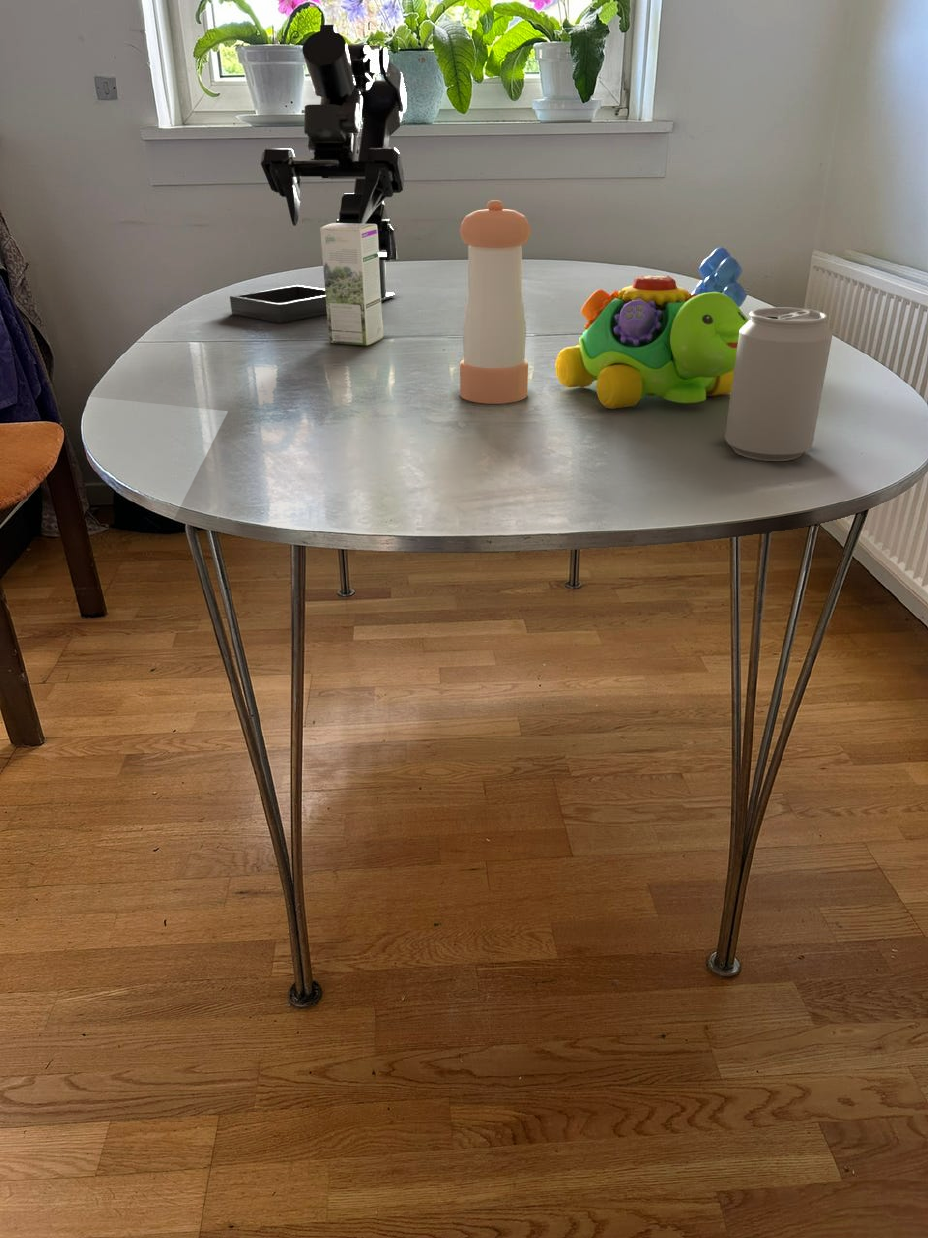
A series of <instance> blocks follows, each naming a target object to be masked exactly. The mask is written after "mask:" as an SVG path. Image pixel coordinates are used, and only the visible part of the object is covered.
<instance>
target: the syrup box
mask: <svg viewBox="0 0 928 1238" xmlns="http://www.w3.org/2000/svg"><path fill="white" fill-rule="evenodd" d="M319 234H320V247H321V256H322V269H323V282H324V283H323V284H324V289H325V296H326V308H327V314H326V319H327V329H328V342H329V344H339V345H352V346H370V345H373V344H374V343H376V342H378V341H380V340H381V339H383V338H384V326H383V325H384V324H383V312H382V301H381V293H380V270H379V253H380V251H379V247H378V230H377V225H376V224H354V223H336V222H332V223H328V224H326V225H323V226H321V227H319Z"/></svg>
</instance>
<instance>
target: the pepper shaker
mask: <svg viewBox="0 0 928 1238" xmlns="http://www.w3.org/2000/svg"><path fill="white" fill-rule="evenodd" d="M504 206H505V205H504V202H503V201H502V200H499V199H491V200H490V201H488V203H487V209H477V210H474V211H472V212H471V213H468V214H467V215H466V216H465V217H464V219H463V220H462V222H461V225H460V230H459V233H460V236H461V240H462V243H463V244H465V245H468V248H467V250H468V251H467V253H468V254H467V260H468V262H467V296H466V302H465V303H466V305H465V310H464V318H463V324H462V345H463V346H462V348H463V359H461V361H460V363H459V373H460V374H459V384H460V385H459V386H460V387H459V390H460V392H459V396H460V397H461V399H464V400H466V401H468V402H473V403H478V404H488V405H489V404H491V405H492V404H494V405H495V404H497V405H498V404H499V405H500V404H501V405H502V404H510V403H516V402H520V401H522V400H524V399H526V398H527V397H528V389H529V388H528V385H529V383H528V382H529V363H528V360H527V359H525V356H526V340H527V339H526V338H527V326H526V325H527V324H526V319H525V318H526V317H525V309H524V302H523V300H524V299H523V293H522V286H523V285H522V282H523V279H522V278H523V276H522V274H523V248H522V245H525V244H526V243H528V240H529V239H530V236H531V232H532V231H531V226H530V223H529V221H528V219H527V217H526V216H525V214H522V213H521V212H519V211H517V210H515V209H504Z"/></svg>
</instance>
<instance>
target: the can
mask: <svg viewBox="0 0 928 1238" xmlns="http://www.w3.org/2000/svg"><path fill="white" fill-rule="evenodd" d="M748 315H749V316H750V319H749V321H748V322H747V323H746V324H745V325H744V326H743V327H742V328H741V329H740V331H739V338H738V345H737V353H736V360H735V368H734V375H733V382H732V390H731V393H730V397H729V398H730V399H729V404H728V413H727V421H726V427H725V435H724V439H725V441H726V443H727V444H728V445H729V446H730V447H731V448H732V450H733V452H735V453H736V454H737V455H739V456H742V457H745V458H748V459H752V460H756V461H763V462H788V461H793V460H796V459H798V458H800V457H801V456H802V454H804V453H805V452H807V451H809V450H810V449H812V447H813V444H814V437H815V433H816V427H817V421H818V417H819V411H820V406H821V399H822V395H823V389H824V383H825V378H826V372H827V369H828V368H827V367H828V362H829V356H830V351H831V346H832V340H833V333H832V331H831V330H830V328H829V327H828V326H827V324H826V321H827V320H828V318H829V316H828V315H827V314H826V313H824V312H823V311H819V310H814V309H809V308H800V307H787V306H784V307H783V306H771V307H760V308H755V309H753V310H751V311H750V312H749V314H748Z"/></svg>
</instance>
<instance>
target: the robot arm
mask: <svg viewBox="0 0 928 1238" xmlns="http://www.w3.org/2000/svg"><path fill="white" fill-rule="evenodd" d="M301 48H302V50H301V51H302V55H303V58H304V61H305V65H306V69H307V71H308V74H309V79H310V81H311V85H312V88H313V91H314V94H315V96H317V97H320V102H319V103H320V104H307V105H305V106H304V122H303V124H304V126H303V128H304V129H303V133H304V134H305V135H306V136H307V138H308V142H307V143H308V144H307V148H308V152H309V153H310V154H313V158H296V156H295V153H294V150H293V149H292V148H287V147H285V148H264V150H263V152H262V153H261V157H260V166H261V168H262V171H263V173H264V175H265V178H266V180H267V183H268V185H269V188H270V191H272V192H274V193H278V194H279V197H282V198H285V199H286V205H287V208H288V212H289V217H290V222H291V224H292V226H293V227H296V226H297V225H298V221H299V216H300V207H301V200H302V199H301V198H302V193H301V191H300V189H301V184H302V178H303V177H304V178H306V177H307V178H309V177H310V178H311V177H312V178H315V177H316V178H317V177H318V178H321V179H330V180H355V181H354V189H353V193H344V194H343V195H342V197H341V203H340V210H339V212H338V215H339V216H338V219H336V220H335V223H354V224H376V225H377V230H378V247H379V270H380V293H381V302H383V301H386V300H388V299H391V298H393V297H395V295H396V294H395V293H394V292H387V291H388V289H387V272H386V271H387V269H386V268H387V267H386V262H391V261H395V260H398V248H397V247H398V246H397V240H396V235H395V234H396V233H395V230H394V228H393V226H392V224H391V223H392V222H391V220H390V219H389V218H388V214H387V209H386V204H385V202H384V201H385V200H386V199H387V198H392V197H393V196H394V194H400V193H401V192H403V191H404V184H405V173H404V172H405V171H404V168H403V163H402V158H401V154H400V152H399V150H398V148H396V147H389V145H390V144H389V143H390V137H391V136H392V135H393V134H394V133H395V132H396V131H397V130H398V129H399V128H400V127H401V125H402V120H403V114H404V113H406V111H407V92H406V88H405V87H406V86H405V83H404V77H403V73H402V72H401V71H400V70H399V68H397V66H396V65H395V64H394V63H393V62H392V61H391V60H390V59H389V55H388V50H387V47H385V46H382V45H381V44H373V45H372V44H370V45H369V44H368V45H366V44H365V43H362V44H361V43H356V44H354V43H352V44H350V43H349V44H348V43H347V41H346V39H345V37H344V36H343V35H342V34H340V33H339V32H337V27H336V24H320V25H319V30H318V31H316V32H314V33H313V34H312V33H311V35H309V37H308V38H307V39H306V40H305V42H303V43H302V47H301ZM376 76H382V77H383V80H376ZM360 129H361V130H360ZM360 131H361V135H360ZM359 135H360V137H359ZM359 138H360V143H359ZM357 155H358V157H357ZM301 177H302V178H301ZM383 251H385V252H383Z"/></svg>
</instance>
